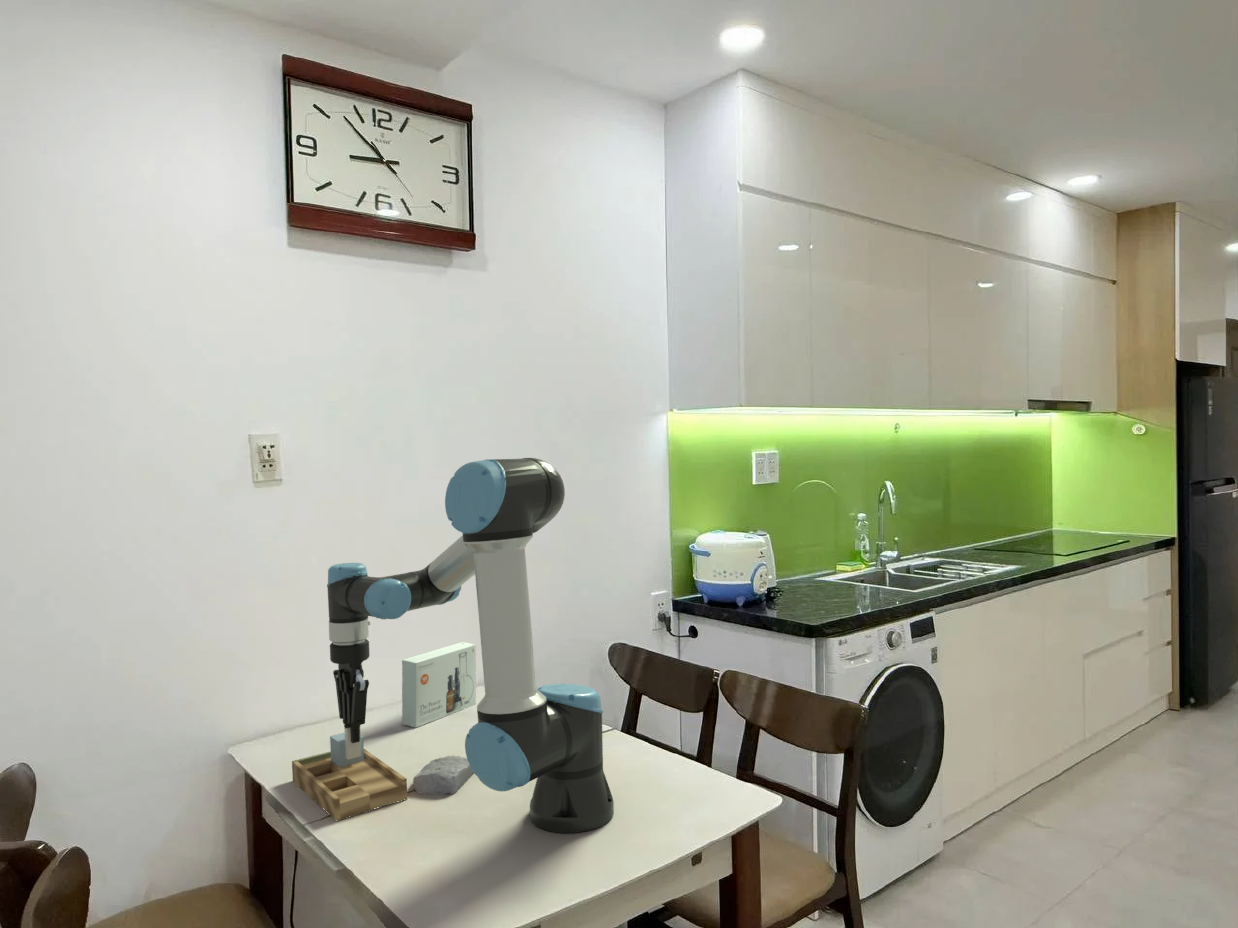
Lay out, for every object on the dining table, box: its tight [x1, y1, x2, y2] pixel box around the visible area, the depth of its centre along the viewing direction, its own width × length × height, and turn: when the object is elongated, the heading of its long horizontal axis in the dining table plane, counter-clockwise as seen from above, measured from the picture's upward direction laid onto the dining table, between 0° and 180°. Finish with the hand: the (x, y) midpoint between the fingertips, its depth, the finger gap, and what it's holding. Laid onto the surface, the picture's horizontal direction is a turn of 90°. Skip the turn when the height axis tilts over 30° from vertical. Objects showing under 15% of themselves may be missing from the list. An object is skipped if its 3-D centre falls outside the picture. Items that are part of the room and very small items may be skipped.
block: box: [329, 732, 365, 767], centre depth 172 cm, size 5×5×5 cm
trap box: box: [291, 748, 408, 821], centre depth 165 cm, size 24×14×4 cm, turn 39°
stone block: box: [412, 755, 474, 795], centre depth 168 cm, size 12×5×10 cm
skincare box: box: [401, 641, 477, 729], centre depth 209 cm, size 21×6×16 cm, turn 147°
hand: (353, 756), depth 170 cm, fingers closed
